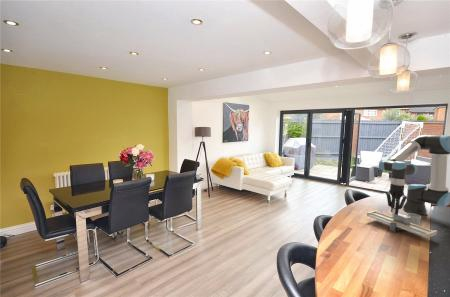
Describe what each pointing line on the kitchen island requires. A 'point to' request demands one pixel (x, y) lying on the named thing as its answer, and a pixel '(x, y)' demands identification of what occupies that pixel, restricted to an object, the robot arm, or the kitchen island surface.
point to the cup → (414, 218)
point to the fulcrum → (394, 227)
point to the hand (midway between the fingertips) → (394, 217)
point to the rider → (402, 219)
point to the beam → (410, 228)
